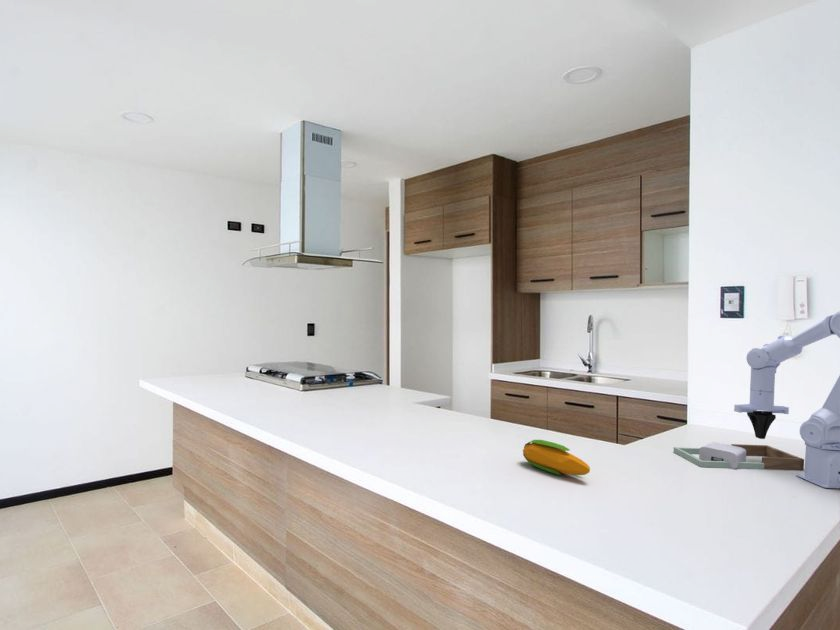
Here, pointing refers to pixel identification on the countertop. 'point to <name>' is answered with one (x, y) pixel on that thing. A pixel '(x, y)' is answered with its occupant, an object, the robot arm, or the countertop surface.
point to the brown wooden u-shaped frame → (774, 457)
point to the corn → (554, 458)
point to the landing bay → (716, 464)
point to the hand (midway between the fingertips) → (760, 438)
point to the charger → (723, 453)
